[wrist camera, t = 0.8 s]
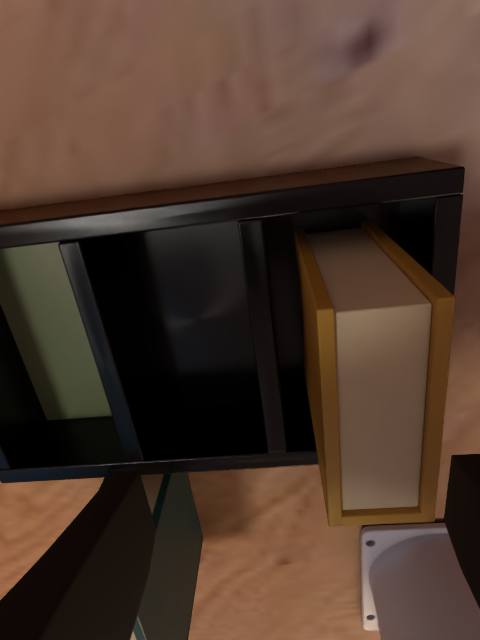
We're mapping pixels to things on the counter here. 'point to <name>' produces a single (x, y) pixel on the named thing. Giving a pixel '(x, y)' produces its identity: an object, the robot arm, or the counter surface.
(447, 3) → the counter surface
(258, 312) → the caddy
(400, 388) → the mustard book
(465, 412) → the counter surface
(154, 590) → the teal book
